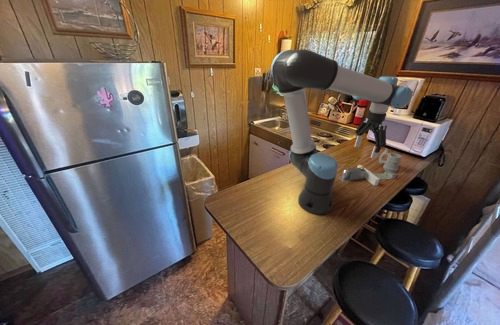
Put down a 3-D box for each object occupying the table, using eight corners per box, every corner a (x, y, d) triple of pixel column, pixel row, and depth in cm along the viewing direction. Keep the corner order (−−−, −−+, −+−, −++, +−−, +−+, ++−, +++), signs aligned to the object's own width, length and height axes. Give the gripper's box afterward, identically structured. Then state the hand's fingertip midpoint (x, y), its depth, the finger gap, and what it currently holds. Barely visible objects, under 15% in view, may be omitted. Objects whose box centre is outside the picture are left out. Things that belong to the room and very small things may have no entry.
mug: (393, 173, 118) (400, 155, 112) (373, 165, 127) (379, 148, 121) (399, 170, 121) (407, 153, 115) (380, 162, 130) (386, 146, 124)
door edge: (374, 185, 106) (376, 179, 104) (355, 170, 120) (357, 165, 118) (377, 185, 106) (379, 179, 105) (358, 170, 120) (360, 164, 118)
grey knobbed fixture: (342, 181, 109) (345, 172, 106) (337, 177, 113) (340, 168, 111) (349, 181, 110) (352, 172, 107) (344, 176, 114) (346, 167, 111)
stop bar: (348, 180, 110) (351, 169, 107) (345, 177, 113) (348, 166, 110) (363, 179, 111) (366, 168, 108) (359, 176, 114) (362, 165, 111)
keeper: (371, 180, 111) (373, 175, 109) (364, 174, 116) (366, 170, 115) (394, 178, 113) (396, 174, 111) (386, 173, 118) (388, 169, 117)
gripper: (406, 118, 84) (388, 162, 94) (368, 106, 105) (356, 142, 115) (390, 119, 83) (374, 163, 93) (355, 106, 105) (345, 143, 115)
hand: (364, 152), depth 104 cm, fingers open, 13 cm apart
